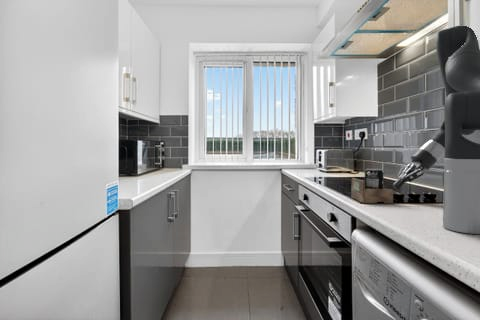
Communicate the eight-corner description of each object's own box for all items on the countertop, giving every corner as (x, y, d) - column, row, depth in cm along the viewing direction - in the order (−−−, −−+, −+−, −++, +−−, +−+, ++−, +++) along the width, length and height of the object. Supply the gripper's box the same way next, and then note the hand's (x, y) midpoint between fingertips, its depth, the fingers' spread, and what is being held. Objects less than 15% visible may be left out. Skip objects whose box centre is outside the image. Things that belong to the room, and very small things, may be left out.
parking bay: (378, 197, 122) (378, 178, 122) (392, 203, 110) (393, 181, 110) (350, 197, 123) (351, 177, 122) (361, 203, 111) (362, 181, 110)
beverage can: (376, 198, 120) (376, 168, 120) (386, 201, 114) (387, 169, 113) (360, 199, 119) (361, 168, 118) (370, 202, 112) (371, 169, 112)
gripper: (411, 147, 122) (380, 178, 123) (431, 147, 109) (396, 182, 110) (424, 161, 122) (393, 191, 123) (446, 162, 109) (411, 197, 110)
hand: (395, 187), depth 116 cm, fingers closed
